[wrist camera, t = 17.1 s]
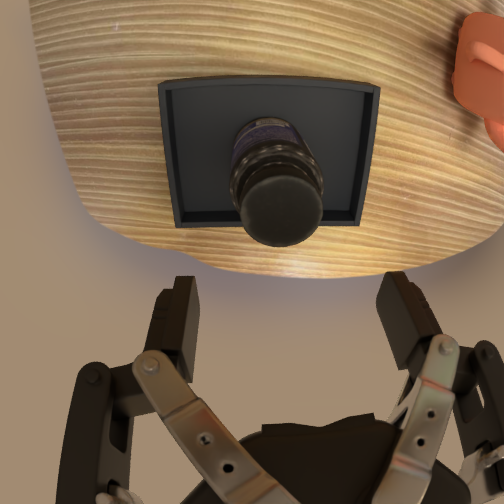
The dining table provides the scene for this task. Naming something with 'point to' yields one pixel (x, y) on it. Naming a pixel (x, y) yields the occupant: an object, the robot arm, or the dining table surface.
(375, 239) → the dining table surface
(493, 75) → the teapot
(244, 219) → the pill bottle
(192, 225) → the tray
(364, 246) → the dining table surface
